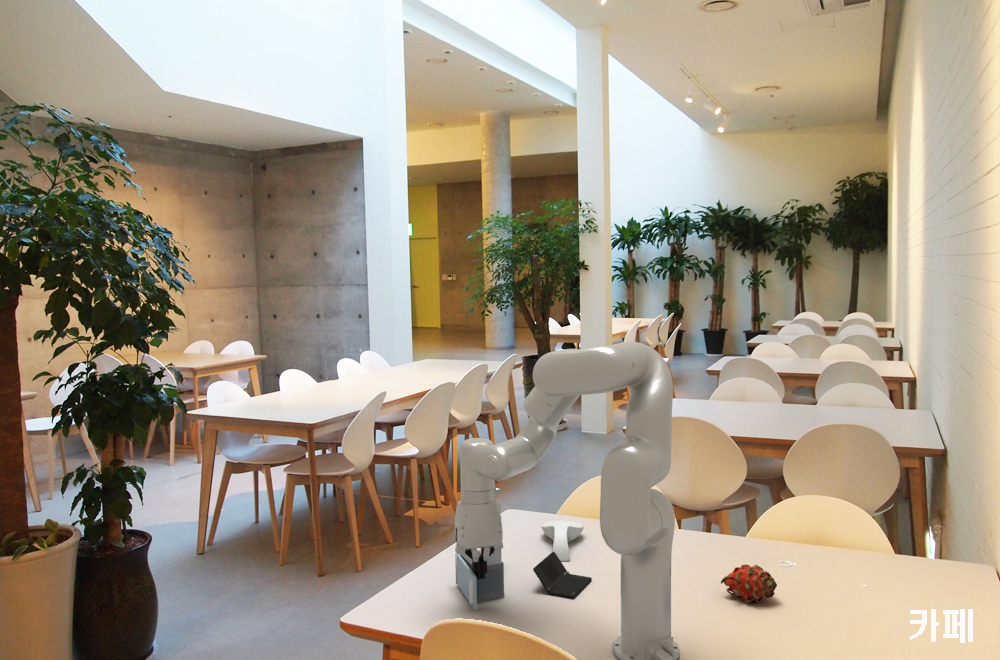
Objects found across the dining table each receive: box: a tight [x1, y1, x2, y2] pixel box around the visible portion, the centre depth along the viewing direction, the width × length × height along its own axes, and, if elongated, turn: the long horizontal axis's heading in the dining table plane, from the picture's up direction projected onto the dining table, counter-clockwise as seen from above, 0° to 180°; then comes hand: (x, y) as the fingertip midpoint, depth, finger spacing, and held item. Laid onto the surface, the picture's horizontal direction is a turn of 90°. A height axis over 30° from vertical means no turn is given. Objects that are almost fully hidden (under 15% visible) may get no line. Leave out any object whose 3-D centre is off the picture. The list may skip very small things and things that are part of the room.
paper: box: [777, 559, 867, 588], centre depth 188 cm, size 25×17×1 cm
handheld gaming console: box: [532, 551, 592, 601], centre depth 181 cm, size 13×8×11 cm
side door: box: [454, 552, 478, 610], centre depth 174 cm, size 16×1×7 cm, turn 18°
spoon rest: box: [540, 520, 585, 562], centre depth 208 cm, size 24×12×7 cm, turn 175°
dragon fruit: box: [720, 564, 778, 604], centre depth 171 cm, size 8×8×12 cm
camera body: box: [459, 549, 505, 603], centre depth 178 cm, size 11×7×9 cm, turn 22°
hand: (479, 577), depth 170 cm, fingers closed
